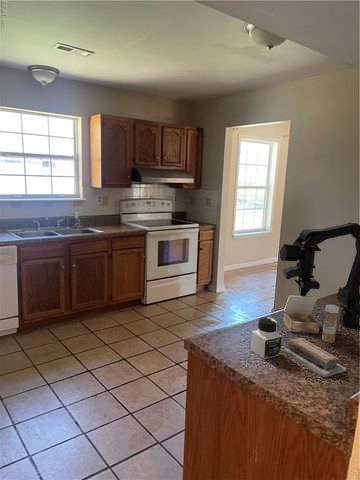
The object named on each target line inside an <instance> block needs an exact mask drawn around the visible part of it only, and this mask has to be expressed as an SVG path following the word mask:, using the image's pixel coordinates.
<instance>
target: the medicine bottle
mask: <svg viewBox="0 0 360 480" xmlns="http://www.w3.org/2000/svg"><path fill="white" fill-rule="evenodd" d="M277 328H278V322H277V320H275V319H274V318H272V317H266V316H264V317H261V318H259V319H258V325H257V329H256V330H255V329H254V330H252V332H251V342H250V350H251V352H253V353H255V354H256V355H258V356H259V357H260V358H262V359H263V360H267V359H271V358H274V357H277V356H281V349H282V348H281V347H282V338H283V337H282V335H281V334H279V333H278V332H277Z"/></svg>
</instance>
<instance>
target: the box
mask: <svg viewBox="0 0 360 480" xmlns="http://www.w3.org/2000/svg"><path fill="white" fill-rule="evenodd" d="M283 324H284V325H285V327H287V329H288V330H289V332H290V333H307V334H319V331H320V330H319V329H320V322H318V320H317V319H316V318H315V317H314V315H313V314H312V313H311V314H308V313H288V312H283Z"/></svg>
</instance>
